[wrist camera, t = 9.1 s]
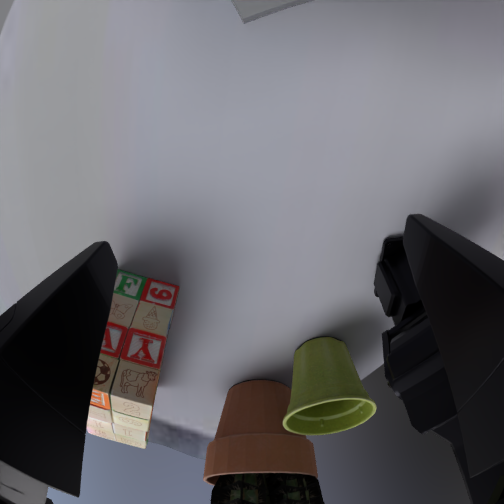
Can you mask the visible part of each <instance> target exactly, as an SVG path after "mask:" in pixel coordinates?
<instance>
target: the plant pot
mask: <svg viewBox="0 0 504 504" xmlns="http://www.w3.org/2000/svg"><path fill="white" fill-rule="evenodd" d="M375 411H376V404H375V402H374V401H373V400H372V399H370V398H369V395H368V393H367V392H366V390H365V389H364V388H363V386H362V383H361V381H360V378H359V376H358V374H357V371H356V369H355V366H354V364H353V361H352V359H351V356H350V354H349V351H348V349H347V346H346V344H345V343H344V342H343V341H338V340H336V339H334V338H333V337H320V338H315V339H312V340H309V341H307V342H305V343H304V344H303V345H302V346H301V347H300V348H299V349H298V350H296V351H295V354H294V364H293V379H292V390H291V399H290V404H289V406H288V409H287V414H286V415H285V417H284V418H283V426H284V428H285V429H286V430H288V431H290V432H293V433H296V434H301V435H324V434H331V433H336V432H340V431H344V430H347V429H350V428H353V427H355V426H357V425H360V424H361V423H363V422H365V421H366V420H368V419H369V418H370V417H371V416H372V415H373V414H374V413H375Z"/></svg>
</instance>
